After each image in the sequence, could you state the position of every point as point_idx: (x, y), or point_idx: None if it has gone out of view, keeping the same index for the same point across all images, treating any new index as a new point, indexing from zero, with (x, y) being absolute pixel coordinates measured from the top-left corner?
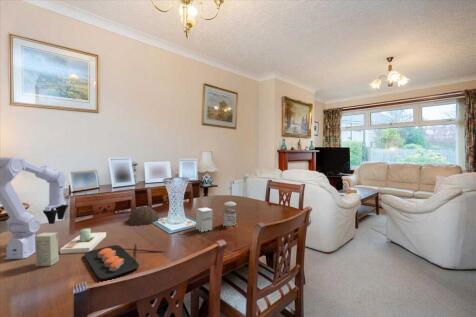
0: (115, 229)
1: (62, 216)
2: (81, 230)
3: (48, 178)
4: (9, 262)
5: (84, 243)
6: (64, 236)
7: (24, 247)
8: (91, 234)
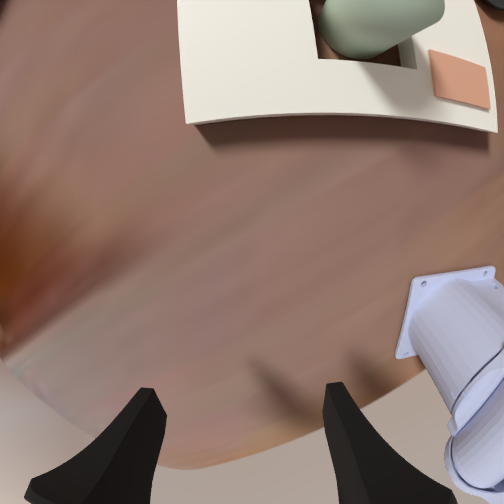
0: (57, 2)
1: (143, 414)
2: (419, 11)
3: None
4: None
5: None
6: (186, 270)
7: None
8: (226, 19)
